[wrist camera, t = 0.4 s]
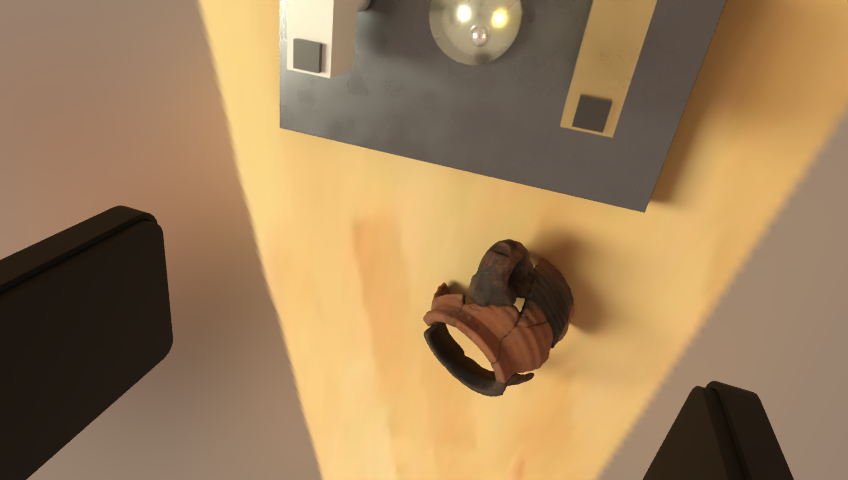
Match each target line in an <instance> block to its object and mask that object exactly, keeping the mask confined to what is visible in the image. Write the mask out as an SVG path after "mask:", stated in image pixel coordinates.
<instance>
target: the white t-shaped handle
mask: <svg viewBox="0 0 848 480" xmlns="http://www.w3.org/2000/svg"><path fill="white" fill-rule="evenodd" d="M370 1H371V0H287V69H288V70H293V71H297V72H302V73H307V74H312V75H316V76H321V77H326V78H332V77H335V76H337V75H340V74H342V73H345V72H347V71H350V70H352V69H353V66H354V51H355V36H356V21H357V12H360V11H363V10H365V9H366V8H367V7H368V5H369V4H370Z"/></svg>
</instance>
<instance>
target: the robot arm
mask: <svg viewBox="0 0 848 480" xmlns="http://www.w3.org/2000/svg"><path fill="white" fill-rule="evenodd" d="M172 343H173V334H172V324H171V313H170V302H169V292H168V281H167V270H166V260H165V249H164V239H163V231H162V228H161V227H160V226H159V225H158V224H157V220H156V219H155V217H154V216H153V215H151V214H149V213H146V212H143V211H139V210H136V209H133V208H129V207H126V206H116V207H113V208H111V209H109V210H106V211H105V212H102V213H101V214H98V215H96V216H94V217H91V218H89V219H87V220H85V221H83V222H81V223H79V224H77V225H74V226H72V227H70V228H68V229H66V230H64V231H61V232H59V233H57V234H55V235H53V236H51V237H49V238H46V239H44V240H42V241H40V242H38V243H36V244H34V245H31V246H29V247H27V248H25V249H23V250H21V251H19V252H16V253H14V254H12V255H10V256H8V257H6V258H4V259H2V260H0V480H26V479H27V478H29V477H30V476H31V475H32V474H33V473H34V472H35V471H37V470H38V469H39V468H40V467H41V466H42V465H43V464H44V463H46V462H47V461H48V460H49V459H50V458H51V457H52V456H54V455H55V454H56V453H57V452H58V451H59V450H60V449H61V448H63V447H64V446H65V445H66V444H67V443H68V442H70V441H71V440H72V439H73V438H74V437H75V436H76V435H77V434H79V433H80V432H81V431H82V430H83V429H84V428H85V427H87V425H89V424H90V423H91V422H92V421H93V420H94V419H96V418H97V417H98V416H99V415H100V414H101V413H102V412H104V411H105V410H106V409H107V408H108V407H109V406H110V405H111V404H113V403H114V402H115V401H116V400H117V399H118V398H119V397H121V396H122V395H123V394H124V393H125V392H126V391H127V390H129V389H130V388H131V387H132V386H133V385H134V384H135V383H137V382H138V381H139V380H140V379H141V378H142V377H143V376H144V375H146V374H147V373H148V372H149V371H150V370H151V369H152V368H154V367H155V366H156V365H157V364H158V363H159V362H160V361H161V360H163V359H164V358H165V357H166V355H167V354H168V353H169V351H170V349H171V346H172ZM643 480H794V479H793V477H792V474H791V472H790V469H789V467H788V465H787V462H786V460H785V457H784V455H783V453H782V450H781V448H780V446H779V443H778V441H777V439H776V436H775V434H774V432H773V429H772V427H771V424H770V422H769V420H768V417H767V415H766V412H765V410H764V408H763V406H762V403H761V400H760V399H759V397H758V395H757V394H755V393H754V392H751V391H748V390H744V389H741V388H737V387H734V386H730V385H727V384H724V383H720V382H717V381H712V382H710V383H709V384H707V386H706V388H703V387H700V386H696V387H695V388H693V389H692V391H691V392H690V394H689V396H688V398H687V400H686V401H685V403H684V405H683V407H682V409H681V411H680V413H679V414H678V416H677V418H676V420H675V422H674V423H673V425H672V427H671V429H670V431H669V432H668V434H667V436H666V438H665V440H664V441H663V443H662V445H661V447H660V449H659V451H658V452H657V454H656V456H655V458H654V460H653V462H652V463H651V465H650V467H649V469H648V471H647V472H646V474H645V476H644V478H643Z"/></svg>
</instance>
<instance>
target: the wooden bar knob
mask: <svg viewBox="0 0 848 480" xmlns="http://www.w3.org/2000/svg"><path fill="white" fill-rule="evenodd" d="M656 3H657V0H593V2H592V6H591V9H590V13H589V17H588V20H587V24H586V28H585V31H584V35H583V39H582V43H581V46H580V50H579V54H578V57H577V61H576V65H575V69H574V72H573V76H572V80H571V83H570V87H569V91H568V94H567V98H566V102H565V106H564V109H563V113H562V119H561V124H560V127H564V128H569V129H573V130H578V131H583V132H588V133H592V134H597V135H602V136H607V137H611V138H613V135H614V131H615V128H616V125H617V122H618V119H619V116H620V113H621V110H622V107H623V104H624V101H625V98H626V95H627V92H628V89H629V85H630V82H631V79H632V76H633V73H634V70H635V67H636V64H637V61H638V58H639V55H640V52H641V49H642V46H643V42H644V39H645V36H646V33H647V30H648V27H649V24H650V21H651V18H652V15H653V12H654V9H655V6H656Z"/></svg>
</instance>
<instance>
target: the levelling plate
mask: <svg viewBox="0 0 848 480" xmlns="http://www.w3.org/2000/svg"><path fill="white" fill-rule="evenodd" d="M592 2H593V0H371V1H370V4H369V5H368V7H367V8H366V9H365V10H363V11H360V12H357V21H356V36H355V51H354V66H353V69H352V70H350V71H347V72H345V73H342V74H340V75H337V76H335V77H332V78H326V77H321V76H316V75H312V74H307V73H302V72H297V71H293V70H288V69H287V0H280V128H283V129H287V130H292V131H296V132H300V133H305V134H309V135H313V136H317V137H322V138H326V139H330V140H335V141H339V142H343V143H348V144H352V145H356V146H360V147H365V148H369V149H373V150H378V151H382V152H386V153H391V154H395V155H399V156H403V157H408V158H412V159H416V160H421V161H425V162H429V163H434V164H438V165H442V166H446V167H451V168H455V169H459V170H464V171H468V172H472V173H477V174H481V175H485V176H489V177H494V178H498V179H502V180H507V181H511V182H515V183H520V184H524V185H528V186H532V187H537V188H541V189H545V190H550V191H554V192H558V193H563V194H567V195H571V196H575V197H580V198H584V199H588V200H593V201H597V202H601V203H606V204H610V205H614V206H618V207H623V208H627V209H631V210H636V211H640V212H644V213H645V210H646V208H647V205H648V203H649V200H650V198H651V195H652V192H653V190H654V187H655V185H656V182H657V179H658V177H659V174H660V172H661V169H662V166H663V164H664V161H665V159H666V156H667V153H668V151H669V148H670V146H671V143H672V140H673V138H674V135H675V133H676V130H677V128H678V125H679V122H680V120H681V117H682V115H683V112H684V109H685V107H686V104H687V102H688V99H689V96H690V94H691V91H692V89H693V86H694V83H695V81H696V78H697V76H698V73H699V70H700V68H701V65H702V63H703V60H704V58H705V55H706V52H707V50H708V47H709V45H710V42H711V39H712V37H713V34H714V32H715V29H716V26H717V24H718V21H719V19H720V16H721V13H722V11H723V8H724V6H725V3H726V0H657V3H656V6H655V9H654V12H653V15H652V18H651V21H650V24H649V27H648V30H647V33H646V36H645V39H644V42H643V46H642V49H641V52H640V55H639V58H638V61H637V64H636V67H635V70H634V73H633V76H632V79H631V82H630V85H629V89H628V92H627V95H626V98H625V101H624V104H623V107H622V110H621V113H620V116H619V119H618V122H617V125H616V128H615V131H614V135H613V138H611V137H607V136H602V135H597V134H592V133H588V132H583V131H578V130H573V129H569V128H564V127H560V124H561V119H562V113H563V109H564V106H565V102H566V98H567V94H568V91H569V87H570V83H571V80H572V76H573V72H574V69H575V65H576V61H577V57H578V54H579V50H580V46H581V43H582V39H583V35H584V31H585V28H586V24H587V20H588V17H589V13H590V9H591V6H592Z"/></svg>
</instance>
